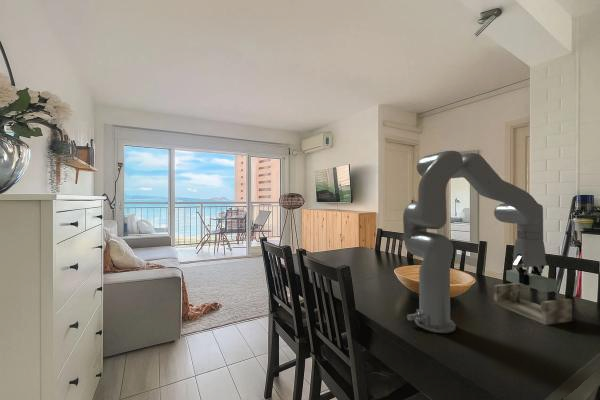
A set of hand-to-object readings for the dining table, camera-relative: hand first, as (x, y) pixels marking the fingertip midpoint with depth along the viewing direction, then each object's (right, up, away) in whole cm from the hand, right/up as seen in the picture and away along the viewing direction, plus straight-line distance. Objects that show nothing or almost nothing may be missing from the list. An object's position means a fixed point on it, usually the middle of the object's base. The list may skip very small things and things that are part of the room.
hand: (530, 283), depth 100 cm
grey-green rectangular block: (0, -1, 0) cm, 1 cm away
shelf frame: (0, -11, 0) cm, 11 cm away
